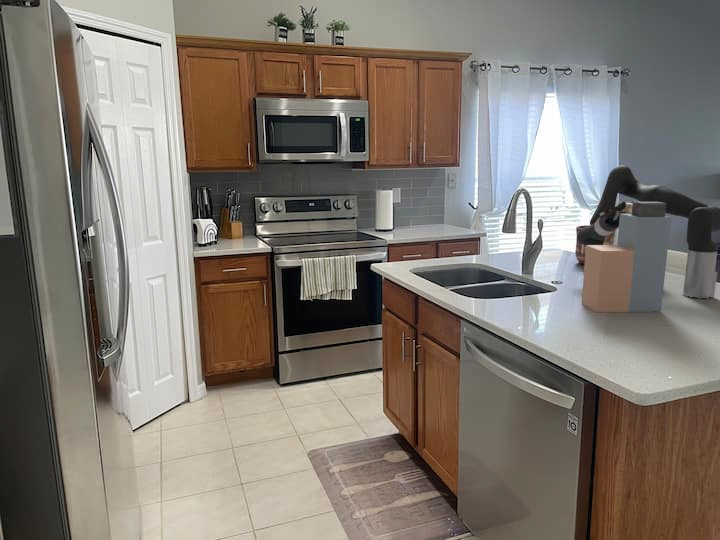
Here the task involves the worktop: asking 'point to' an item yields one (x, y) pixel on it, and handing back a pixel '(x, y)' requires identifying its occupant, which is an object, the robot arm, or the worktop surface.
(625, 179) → the robot arm
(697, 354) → the worktop surface
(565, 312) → the worktop surface
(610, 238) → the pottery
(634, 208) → the mallet
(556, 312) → the worktop surface
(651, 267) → the step stand
